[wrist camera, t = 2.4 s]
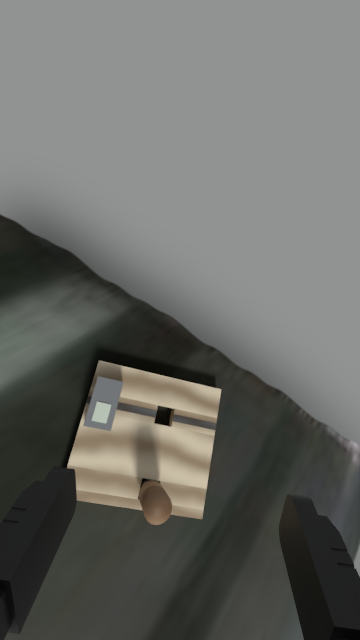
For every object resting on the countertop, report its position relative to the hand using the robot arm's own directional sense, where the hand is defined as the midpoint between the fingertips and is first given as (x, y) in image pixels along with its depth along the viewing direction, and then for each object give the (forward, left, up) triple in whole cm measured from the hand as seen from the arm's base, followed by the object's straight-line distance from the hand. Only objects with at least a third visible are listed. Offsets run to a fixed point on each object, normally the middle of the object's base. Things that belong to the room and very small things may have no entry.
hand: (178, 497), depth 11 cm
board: (-1, -5, -44) cm, 44 cm away
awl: (-9, -7, -44) cm, 45 cm away
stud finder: (+3, +4, -41) cm, 41 cm away
